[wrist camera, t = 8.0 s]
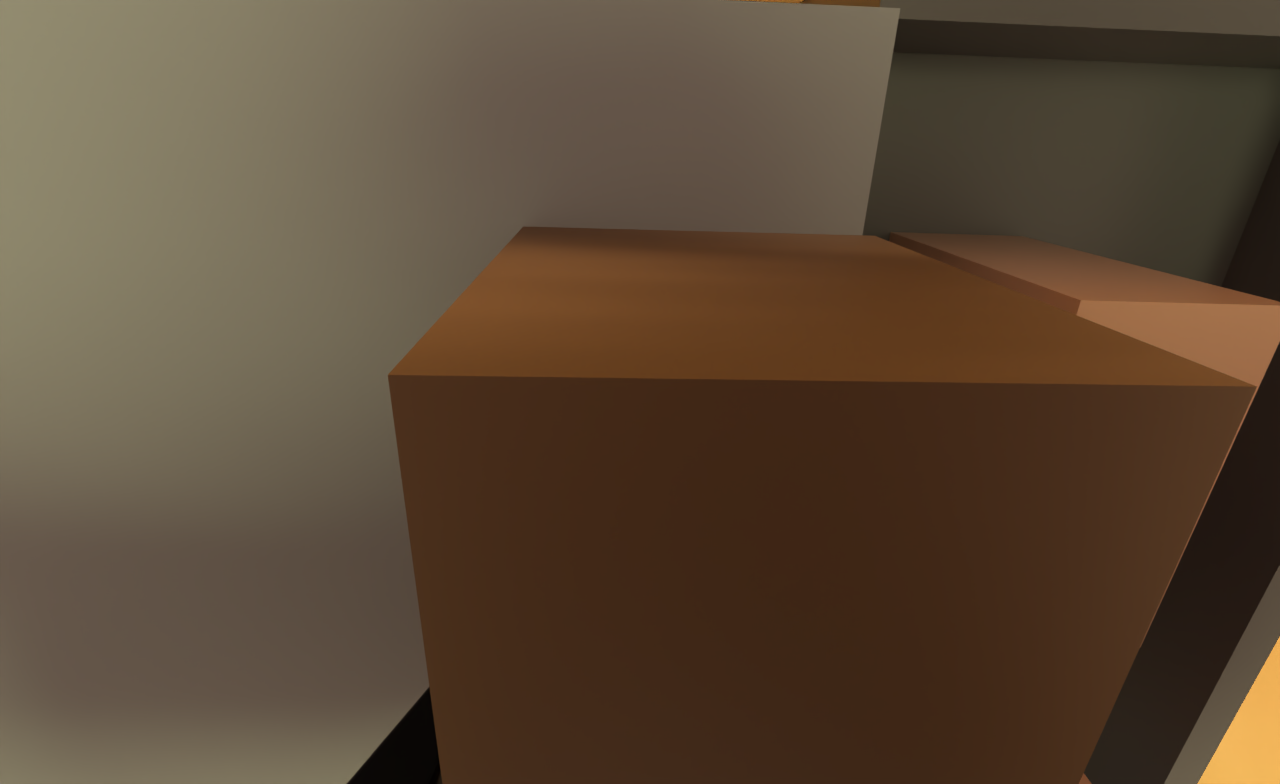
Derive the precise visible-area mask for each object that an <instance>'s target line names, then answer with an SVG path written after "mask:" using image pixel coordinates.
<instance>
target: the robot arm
mask: <svg viewBox="0 0 1280 784" xmlns="http://www.w3.org/2000/svg"><path fill="white" fill-rule="evenodd" d="M347 784H442V777H441V769H440V762H439V754H438V747H437V739H436V732H435V725H434V717H433V710H432V702H431V695H430V687H428V688H427V690H426V691H425V692H424V693H423V694H422V696H421V697H420V698H419V699H418V700H417V701H416V703H415V704H414V705H413V706H412V707H411V708H410V710H409V711H408V712H407V713H406V714H405V716H404V717H403V718H402V719H401V720H400V721H399V723H398V724H397V725H396V726H395V727H394V729H393V730H392V731H391V732H390V733H389V734H388V736H387V737H386V738H385V739H384V740H383V741H382V743H381V744H380V745H379V746H378V747H377V749H376V750H375V751H374V752H373V753H372V754H371V756H370V757H369V758H368V759H367V760H366V762H365V763H364V764H363V765H362V766H361V767H360V769H359V770H358V771H357V772H356V773H355V774H354V776H353V777H352V778H351V779H350V780H349V782H348V783H347Z"/></svg>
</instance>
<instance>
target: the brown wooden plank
mask: <svg viewBox="0 0 1280 784" xmlns="http://www.w3.org/2000/svg"><path fill="white" fill-rule="evenodd" d="M388 382H389V389H390V397H391V404H392V411H393V419H394V426H395V434H396V441H397V449H398V456H399V464H400V471H401V479H402V486H403V493H404V501H405V508H406V516H407V523H408V531H409V538H410V546H411V553H412V561H413V568H414V575H415V583H416V590H417V598H418V605H419V613H420V620H421V628H422V635H423V643H424V650H425V657H426V665H427V672H428V680H429V687H430V695H431V702H432V710H433V717H434V725H435V732H436V739H437V747H438V754H439V762H440V769H441V777H442V784H1079V782H1080V780H1081V778H1082V775H1083V773H1084V771H1085V769H1086V766H1087V764H1088V762H1089V760H1090V758H1091V755H1092V753H1093V751H1094V749H1095V746H1096V744H1097V742H1098V740H1099V738H1100V735H1101V733H1102V731H1103V729H1104V726H1105V724H1106V722H1107V720H1108V717H1109V715H1110V713H1111V711H1112V709H1113V706H1114V704H1115V702H1116V700H1117V697H1118V695H1119V693H1120V691H1121V688H1122V686H1123V684H1124V682H1125V680H1126V677H1127V675H1128V673H1129V671H1130V668H1131V666H1132V664H1133V662H1134V660H1135V657H1136V655H1137V653H1138V651H1139V648H1140V646H1141V644H1142V642H1143V639H1144V637H1145V635H1146V633H1147V631H1148V628H1149V626H1150V624H1151V622H1152V619H1153V617H1154V615H1155V613H1156V611H1157V608H1158V606H1159V604H1160V602H1161V599H1162V597H1163V595H1164V593H1165V590H1166V588H1167V586H1168V584H1169V582H1170V579H1171V577H1172V575H1173V573H1174V570H1175V568H1176V566H1177V564H1178V562H1179V559H1180V557H1181V555H1182V553H1183V550H1184V548H1185V546H1186V544H1187V541H1188V539H1189V537H1190V535H1191V533H1192V530H1193V528H1194V526H1195V524H1196V521H1197V519H1198V517H1199V515H1200V513H1201V510H1202V508H1203V506H1204V504H1205V501H1206V499H1207V497H1208V495H1209V492H1210V490H1211V488H1212V486H1213V484H1214V481H1215V479H1216V477H1217V475H1218V472H1219V470H1220V468H1221V466H1222V464H1223V461H1224V459H1225V457H1226V455H1227V452H1228V450H1229V448H1230V446H1231V443H1232V441H1233V439H1234V437H1235V435H1236V432H1237V430H1238V428H1239V426H1240V423H1241V421H1242V419H1243V417H1244V415H1245V412H1246V410H1247V408H1248V406H1249V403H1250V401H1251V399H1252V397H1253V394H1254V392H1255V390H1256V388H1257V386H1254V385H1252V384H1249V383H1247V382H1244V381H1242V380H1239V379H1237V378H1234V377H1231V376H1229V375H1226V374H1224V373H1221V372H1219V371H1216V370H1214V369H1211V368H1209V367H1206V366H1204V365H1201V364H1199V363H1196V362H1193V361H1191V360H1188V359H1186V358H1183V357H1181V356H1178V355H1176V354H1173V353H1171V352H1168V351H1166V350H1163V349H1161V348H1158V347H1155V346H1153V345H1150V344H1148V343H1145V342H1143V341H1140V340H1138V339H1135V338H1133V337H1130V336H1128V335H1125V334H1122V333H1120V332H1117V331H1115V330H1112V329H1110V328H1107V327H1105V326H1102V325H1100V324H1097V323H1095V322H1092V321H1090V320H1087V319H1084V318H1082V317H1079V316H1077V315H1074V314H1072V313H1069V312H1067V311H1064V310H1062V309H1059V308H1057V307H1054V306H1052V305H1049V304H1046V303H1044V302H1041V301H1039V300H1036V299H1034V298H1031V297H1029V296H1026V295H1024V294H1021V293H1019V292H1016V291H1014V290H1011V289H1008V288H1006V287H1003V286H1001V285H998V284H996V283H993V282H991V281H988V280H986V279H983V278H981V277H978V276H976V275H973V274H970V273H968V272H965V271H963V270H960V269H958V268H955V267H953V266H950V265H948V264H945V263H943V262H940V261H938V260H935V259H932V258H930V257H927V256H925V255H922V254H920V253H917V252H915V251H912V250H910V249H907V248H905V247H902V246H900V245H897V244H894V243H892V242H889V241H887V240H884V239H882V238H879V237H877V236H867V235H829V234H791V233H752V232H714V231H676V230H638V229H600V228H562V227H522V228H521V230H520V231H519V232H518V233H517V234H516V235H515V236H514V237H513V238H512V239H511V240H510V242H509V243H508V244H507V245H506V246H505V247H504V248H503V249H502V250H501V251H500V252H499V254H498V255H497V256H496V257H495V258H494V259H493V260H492V261H491V262H490V263H489V265H488V266H487V267H486V268H485V269H484V270H483V271H482V272H481V273H480V274H479V275H478V277H477V278H476V279H475V280H474V281H473V282H472V283H471V284H470V285H469V286H468V287H467V289H466V290H465V291H464V292H463V293H462V294H461V295H460V296H459V297H458V298H457V300H456V301H455V302H454V303H453V304H452V305H451V306H450V307H449V308H448V309H447V310H446V312H445V313H444V314H443V315H442V316H441V317H440V318H439V319H438V320H437V321H436V322H435V324H434V325H433V326H432V327H431V328H430V329H429V330H428V331H427V332H426V333H425V335H424V336H423V337H422V338H421V339H420V340H419V341H418V342H417V343H416V344H415V345H414V347H413V348H412V349H411V350H410V351H409V352H408V353H407V354H406V355H405V356H404V357H403V359H402V360H401V361H400V362H399V363H398V364H397V365H396V366H395V367H394V368H393V370H392V371H391V372H390V373H389V374H388Z"/></svg>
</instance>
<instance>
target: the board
mask: <svg viewBox="0 0 1280 784" xmlns="http://www.w3.org/2000/svg"><path fill="white" fill-rule="evenodd" d="M899 14H900V8H885V7H864V6H842V5H821V4H800V3H778V2H757V1H736V0H0V784H347V783H348V782H349V780H350V779H351V778H352V777H353V776H354V774H355V773H356V772H357V771H358V770H359V769H360V767H361V766H362V765H363V764H364V763H365V762H366V760H367V759H368V758H369V757H370V756H371V754H372V753H373V752H374V751H375V750H376V749H377V747H378V746H379V745H380V744H381V743H382V741H383V740H384V739H385V738H386V737H387V736H388V734H389V733H390V732H391V731H392V730H393V729H394V727H395V726H396V725H397V724H398V723H399V721H400V720H401V719H402V718H403V717H404V716H405V714H406V713H407V712H408V711H409V710H410V708H411V707H412V706H413V705H414V704H415V703H416V701H417V700H418V699H419V698H420V697H421V696H422V694H423V693H424V692H425V691H426V690H427V688H428V687H429V680H428V672H427V665H426V657H425V650H424V643H423V635H422V628H421V620H420V613H419V605H418V598H417V590H416V583H415V575H414V568H413V561H412V553H411V546H410V538H409V531H408V523H407V516H406V508H405V501H404V493H403V486H402V479H401V471H400V464H399V456H398V449H397V441H396V434H395V426H394V419H393V411H392V404H391V397H390V389H389V382H388V374H389V373H390V372H391V371H392V370H393V368H394V367H395V366H396V365H397V364H398V363H399V362H400V361H401V360H402V359H403V357H404V356H405V355H406V354H407V353H408V352H409V351H410V350H411V349H412V348H413V347H414V345H415V344H416V343H417V342H418V341H419V340H420V339H421V338H422V337H423V336H424V335H425V333H426V332H427V331H428V330H429V329H430V328H431V327H432V326H433V325H434V324H435V322H436V321H437V320H438V319H439V318H440V317H441V316H442V315H443V314H444V313H445V312H446V310H447V309H448V308H449V307H450V306H451V305H452V304H453V303H454V302H455V301H456V300H457V298H458V297H459V296H460V295H461V294H462V293H463V292H464V291H465V290H466V289H467V287H468V286H469V285H470V284H471V283H472V282H473V281H474V280H475V279H476V278H477V277H478V275H479V274H480V273H481V272H482V271H483V270H484V269H485V268H486V267H487V266H488V265H489V263H490V262H491V261H492V260H493V259H494V258H495V257H496V256H497V255H498V254H499V252H500V251H501V250H502V249H503V248H504V247H505V246H506V245H507V244H508V243H509V242H510V240H511V239H512V238H513V237H514V236H515V235H516V234H517V233H518V232H519V231H520V230H521V228H522V227H562V228H600V229H638V230H676V231H714V232H752V233H791V234H829V235H863V229H864V223H865V217H866V211H867V205H868V199H869V193H870V187H871V181H872V175H873V169H874V163H875V157H876V151H877V145H878V139H879V133H880V127H881V121H882V115H883V109H884V103H885V97H886V91H887V85H888V79H889V73H890V67H891V61H892V55H893V49H894V43H895V37H896V32H897V26H898V20H899Z"/></svg>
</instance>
